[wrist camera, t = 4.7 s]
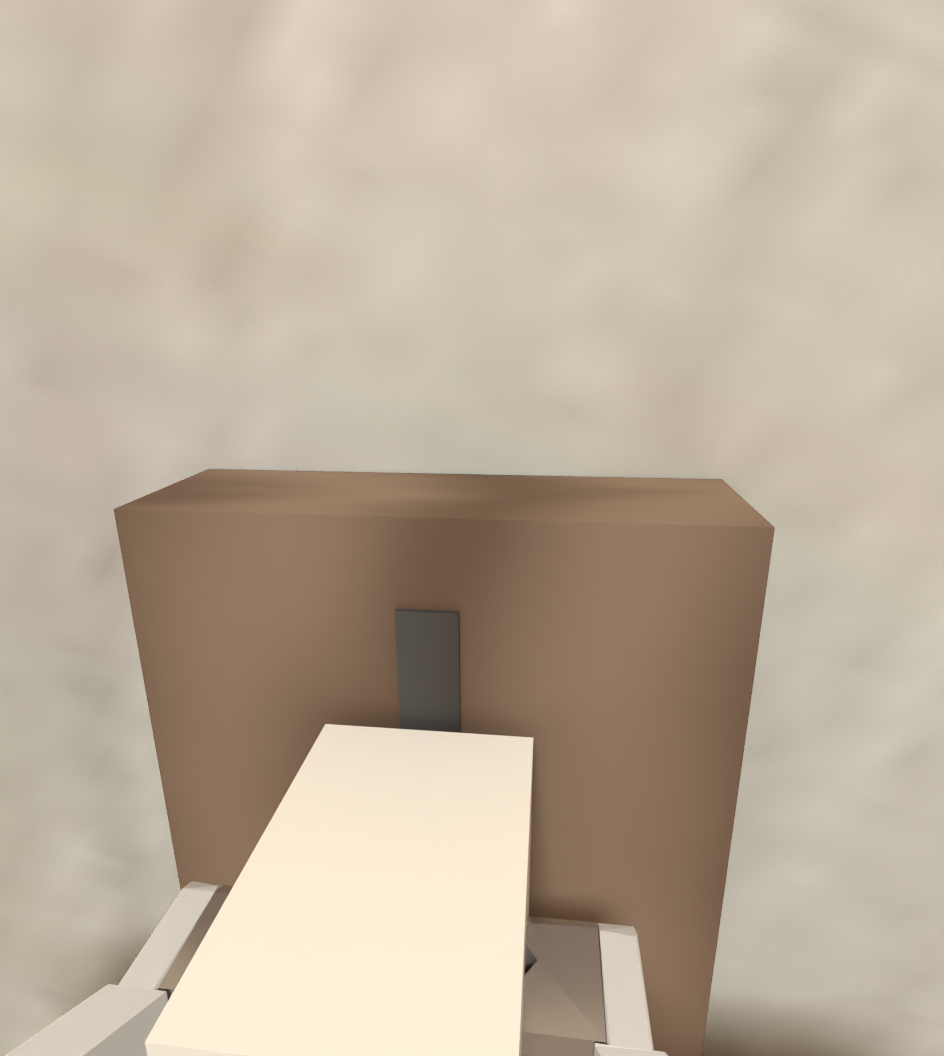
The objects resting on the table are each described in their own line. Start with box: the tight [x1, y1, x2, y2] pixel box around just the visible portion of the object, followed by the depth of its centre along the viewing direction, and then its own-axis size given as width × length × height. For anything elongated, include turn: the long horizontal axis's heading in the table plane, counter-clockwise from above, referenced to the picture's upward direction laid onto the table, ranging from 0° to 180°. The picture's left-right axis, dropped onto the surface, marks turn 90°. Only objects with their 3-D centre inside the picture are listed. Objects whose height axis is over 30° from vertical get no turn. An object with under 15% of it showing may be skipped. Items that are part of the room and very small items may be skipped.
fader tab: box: [145, 724, 533, 1056], centre depth 9 cm, size 4×4×5 cm
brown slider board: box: [114, 469, 775, 1056], centre depth 14 cm, size 10×20×3 cm, turn 0°
